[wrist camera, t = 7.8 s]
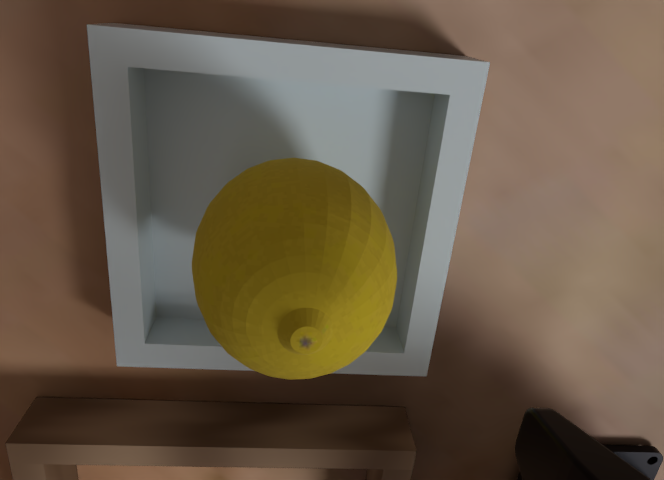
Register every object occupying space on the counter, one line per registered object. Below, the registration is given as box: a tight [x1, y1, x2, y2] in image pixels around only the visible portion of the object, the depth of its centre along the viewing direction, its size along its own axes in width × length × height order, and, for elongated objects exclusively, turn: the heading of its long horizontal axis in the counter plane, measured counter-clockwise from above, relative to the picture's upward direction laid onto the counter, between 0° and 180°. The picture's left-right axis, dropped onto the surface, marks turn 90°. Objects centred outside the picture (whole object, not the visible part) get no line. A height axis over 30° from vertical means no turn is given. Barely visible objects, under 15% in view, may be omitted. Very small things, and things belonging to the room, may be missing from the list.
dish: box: [87, 23, 490, 376], centre depth 18 cm, size 11×11×2 cm
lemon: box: [192, 158, 397, 380], centre depth 15 cm, size 6×6×8 cm
